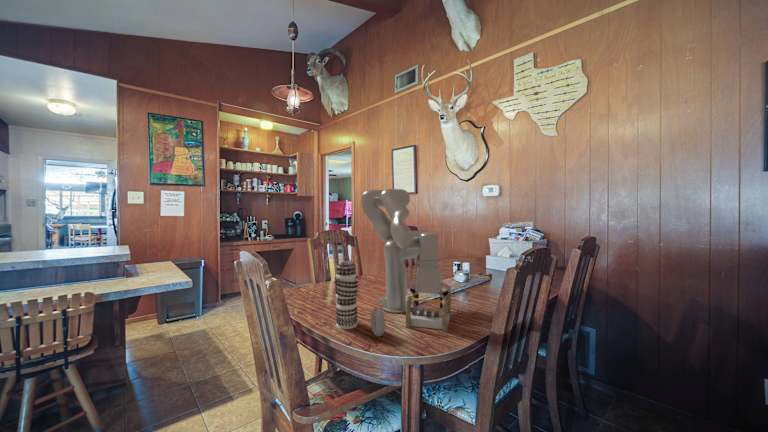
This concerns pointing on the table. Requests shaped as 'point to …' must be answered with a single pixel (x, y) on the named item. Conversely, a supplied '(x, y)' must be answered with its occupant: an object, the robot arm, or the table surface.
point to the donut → (377, 322)
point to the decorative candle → (346, 295)
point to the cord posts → (445, 310)
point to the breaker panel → (427, 318)
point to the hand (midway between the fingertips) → (429, 306)
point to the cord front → (426, 300)
